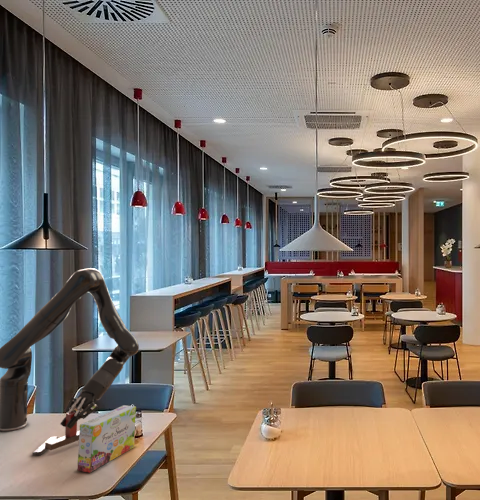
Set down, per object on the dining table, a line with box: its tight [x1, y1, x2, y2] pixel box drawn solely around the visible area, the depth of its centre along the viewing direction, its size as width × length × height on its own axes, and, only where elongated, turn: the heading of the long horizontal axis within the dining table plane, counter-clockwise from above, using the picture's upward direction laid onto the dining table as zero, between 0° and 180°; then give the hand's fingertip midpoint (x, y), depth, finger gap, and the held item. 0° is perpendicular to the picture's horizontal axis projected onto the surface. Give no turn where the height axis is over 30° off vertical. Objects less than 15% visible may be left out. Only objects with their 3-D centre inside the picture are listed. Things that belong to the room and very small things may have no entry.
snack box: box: [77, 404, 137, 473], centre depth 158 cm, size 21×6×15 cm, turn 168°
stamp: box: [44, 412, 80, 451], centre depth 167 cm, size 4×16×10 cm, turn 154°
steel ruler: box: [32, 436, 59, 457], centre depth 166 cm, size 2×14×1 cm, turn 11°
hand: (65, 426), depth 165 cm, fingers closed on stamp, 2 cm apart
